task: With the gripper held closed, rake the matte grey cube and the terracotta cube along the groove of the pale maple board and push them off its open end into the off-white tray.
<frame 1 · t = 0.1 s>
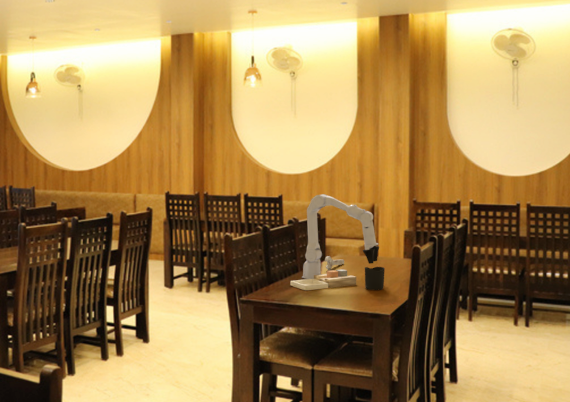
hand: (373, 262, 322), 10 cm above the table, tool pointing down, fingers open, 7 cm apart
grooved board: (334, 283, 319), on the table
tray: (309, 286, 312), on the table
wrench: (334, 268, 370), on the table
terracotta cube: (332, 278, 318), point 3 cm above the table, touching grooved board
matte grey cube: (341, 277, 321), point 3 cm above the table, touching grooved board
pen holder: (374, 289, 308), on the table
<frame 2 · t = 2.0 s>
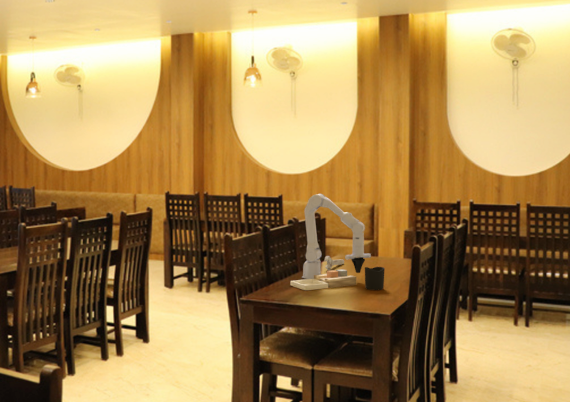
hand: (357, 272, 326), 4 cm above the table, tool pointing down, fingers closed
nothing on the table moved.
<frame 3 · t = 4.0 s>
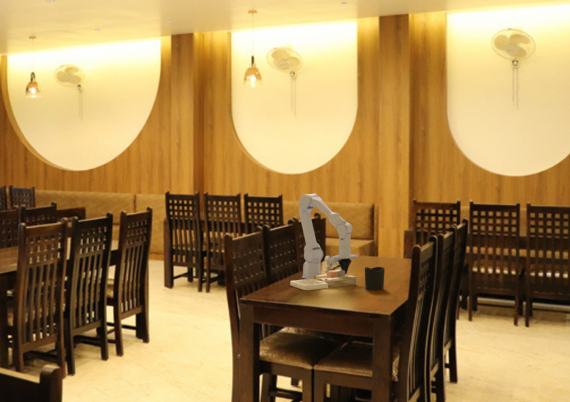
hand: (344, 273, 322), 4 cm above the table, tool pointing down, fingers closed
terracotta cube: (332, 278, 318), point 3 cm above the table, touching grooved board, matte grey cube
matte grey cube: (339, 277, 320), point 3 cm above the table, touching gripper, terracotta cube
everything else where it was.
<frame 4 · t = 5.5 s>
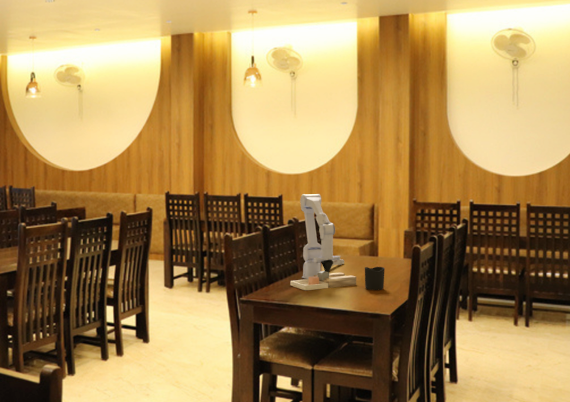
hand: (327, 275, 317), 5 cm above the table, tool pointing down, fingers closed, pressing on matte grey cube
terracotta cube: (316, 280, 314), point 2 cm above the table, tilted 90°, touching tray
matte grey cube: (323, 279, 315), point 3 cm above the table, touching gripper, grooved board
everything else where it was.
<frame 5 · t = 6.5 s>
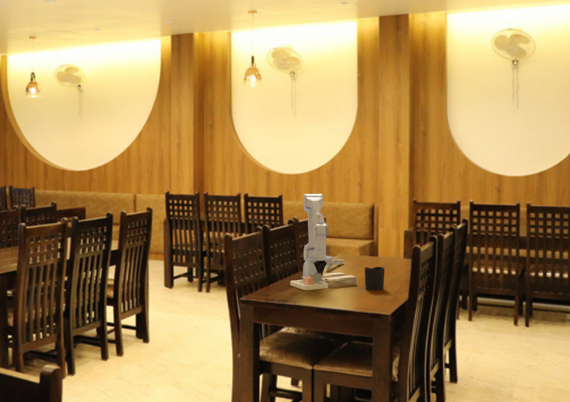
hand: (320, 276, 315), 5 cm above the table, tool pointing down, fingers closed
terracotta cube: (311, 280, 313), point 3 cm above the table, tilted 98°, touching matte grey cube, tray
matte grey cube: (316, 280, 313), point 3 cm above the table, tilted 8°, touching gripper, terracotta cube
everything else where it was.
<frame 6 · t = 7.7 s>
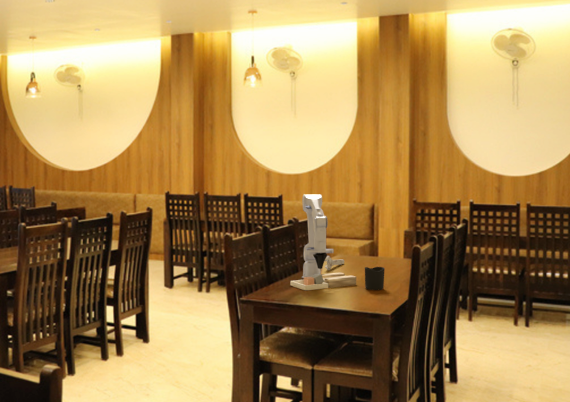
hand: (320, 268, 315), 8 cm above the table, tool pointing down, fingers closed
terracotta cube: (312, 281, 313), point 2 cm above the table, tilted 90°, touching matte grey cube, tray
matte grey cube: (318, 282, 314), point 2 cm above the table, tilted 20°, touching terracotta cube, tray
everything else where it was.
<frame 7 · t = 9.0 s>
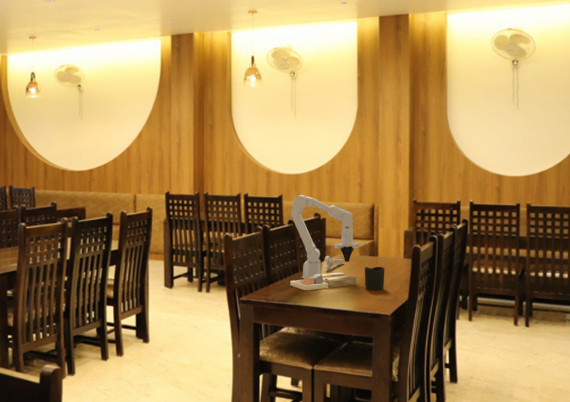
hand: (346, 261, 331), 9 cm above the table, tool pointing down, fingers closed
nothing on the table moved.
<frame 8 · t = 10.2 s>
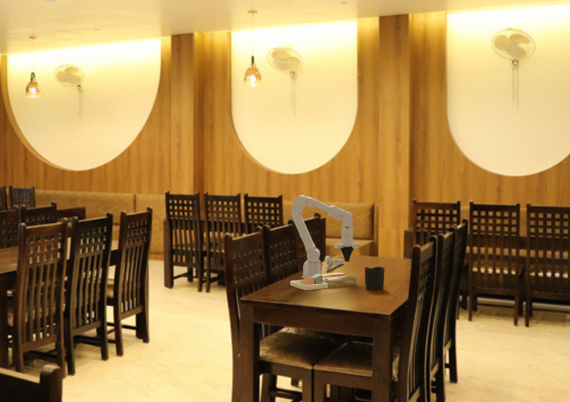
hand: (346, 261, 331), 9 cm above the table, tool pointing down, fingers closed
nothing on the table moved.
at the end: terracotta cube inside the target area on the tray (1.6 cm from its centre), point 2.4 cm above the tray's base; matte grey cube inside the target area on the tray (4.7 cm from its centre), point 1.8 cm above the tray's base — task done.
